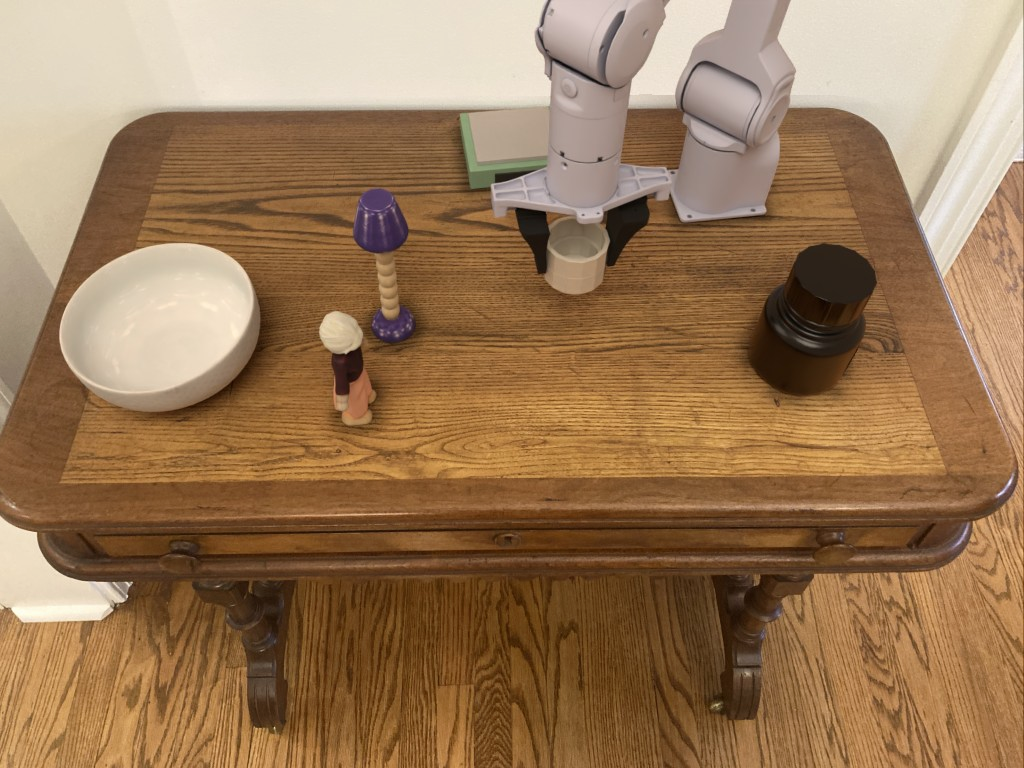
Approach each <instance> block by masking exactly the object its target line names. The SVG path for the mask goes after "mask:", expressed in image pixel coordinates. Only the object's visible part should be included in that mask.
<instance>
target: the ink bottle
mask: <svg viewBox="0 0 1024 768" xmlns="http://www.w3.org/2000/svg"><path fill="white" fill-rule="evenodd" d="M785 281H786V282H783V283H782V284H780V285H778V286H776V287H775V288H774V289H773V290H772V291H771V292H770V293H769V295H768V296H767V297H766V299H765V301H764V303H763V305H762V308H761V311H760V313H759V316H758V318H757V320H756V324H755V327H754V330H753V332H752V334H751V337H750V340H749V343H748V356H749V361H750V363H751V365H752V367H753V368H754V370H755V372H756V373H757V374H758V376H760V377H761V378H762V379H763V380H764V381H765V382H766V383H768V384H769V385H770V386H772V387H773V388H775V389H777V390H779V391H781V392H784V393H786V394H789V395H793V396H800V397H801V396H803V397H804V396H805V397H806V396H813V395H819V394H822V393H824V392H827V391H828V390H830V389H831V388H833V387H834V386H835V385H836V384H838V383H839V382H840V380H841V379H842V377H843V376H844V374H845V373H846V372H847V370H848V368H849V367H850V364H851V362H852V361H853V360H854V357H855V355H856V353H857V352H858V350H859V348H860V345H861V344H862V341H863V339H864V337H865V334H866V329H867V321H866V316H865V313H864V311H865V309H866V307H867V305H868V303H869V301H870V299H871V297H872V296H873V294H874V290H875V289H876V286H877V285H878V281H877V275H876V269H875V268H874V267H873V266H872V264H871V263H870V262H869V260H868V259H867V258H865V257H864V256H863V255H861V254H860V253H859V252H857V250H856V249H852V248H849V247H846V246H844V245H841V244H833V243H827V242H826V243H825V242H822V243H819V244H815V245H814V244H813V245H808V246H807V247H806V248H805V249H803V250H801V251H799V252H798V253H797V256H796V259H795V260H794V261H793V264H792V266H791V269H790V271H789V274H788V276H787V279H786V280H785Z"/></svg>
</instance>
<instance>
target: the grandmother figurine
mask: <svg viewBox="0 0 1024 768" xmlns="http://www.w3.org/2000/svg"><path fill="white" fill-rule="evenodd" d="M318 334H319V339H320V340H321V342H322V345H323V346H324V347H325V348H326V349H327V350H328V351H329V352H331V353H332V354H331V362H330V363H331V365H330V366H331V367H332V370H333V373H334V379H333V394H332V395H333V405H334V409H335V410H336V411H339V412H340V413H341V421H342V423H343V424H344V425H345V426H348V427H349V426H350V427H351V426H363V425H367V424H369V423H371V422H372V420H373V411H372V410H371V409H369V405H370V404H372V403H374V402H375V400H376V398H377V391H375V390H374V389H373V387H372V384H371V380H370V377H369V373H368V372H367V370H366V369H365V367H364V365H365V362H364V357H363V356H364V355H363V350H362V349H365V348H367V346H368V344H369V343H368V339H367V338H366V337H365V336H364V332H363V329H362V328H361V326H360V325H359V322H358V321H357V319H356V318H354V317H353V316H351V315H350V314H347V313H345V312H342V311H339V310H338V311H337V310H334V311H331V312H329V313H327V314H326V315H325V316H324V318H323V319H322V321H321V324H320V326H319V331H318Z"/></svg>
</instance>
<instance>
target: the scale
mask: <svg viewBox="0 0 1024 768" xmlns="http://www.w3.org/2000/svg"><path fill="white" fill-rule="evenodd" d="M549 116H550V105H543V106H531V107H522V108H508V109H499V110H498V109H497V110H487V111H484V110H483V111H474V112H472V111H471V112H463V113H459V129H460V130H459V132H460V137H461V143H462V148H463V149H462V150H463V154H464V160H465V165H466V171H467V177H468V182H469V189H470V190H476V189H487V188H491V184H495V183H502V182H506V181H510V180H513V179H516V178H518V177H521V176H524V175H526V174H529V173H532V172H535V171H537V170H540V169H543V168H545V167H547V157H548V139H549V137H548V136H549Z"/></svg>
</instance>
